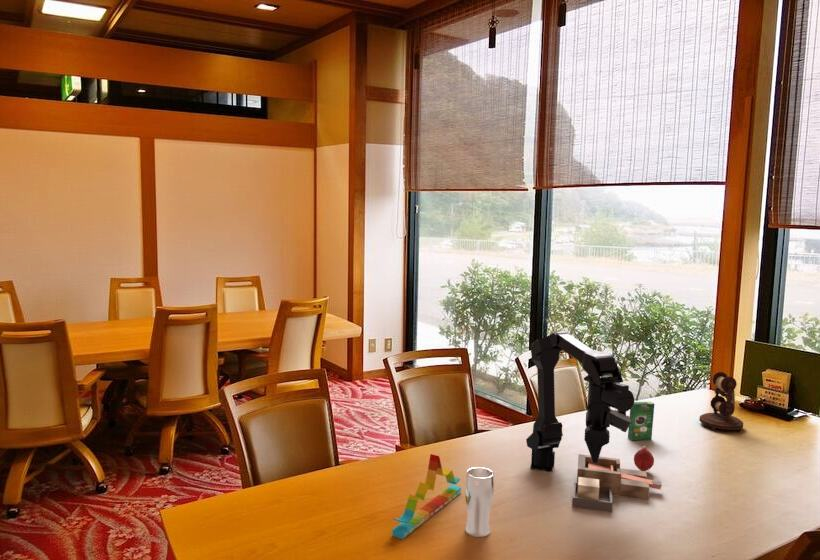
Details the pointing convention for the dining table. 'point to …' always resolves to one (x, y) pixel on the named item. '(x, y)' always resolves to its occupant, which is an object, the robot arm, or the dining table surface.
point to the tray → (600, 505)
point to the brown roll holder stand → (723, 405)
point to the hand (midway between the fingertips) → (595, 456)
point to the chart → (416, 519)
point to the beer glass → (478, 500)
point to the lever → (629, 476)
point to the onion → (643, 459)
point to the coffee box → (641, 421)
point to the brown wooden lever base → (614, 477)
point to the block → (588, 488)
